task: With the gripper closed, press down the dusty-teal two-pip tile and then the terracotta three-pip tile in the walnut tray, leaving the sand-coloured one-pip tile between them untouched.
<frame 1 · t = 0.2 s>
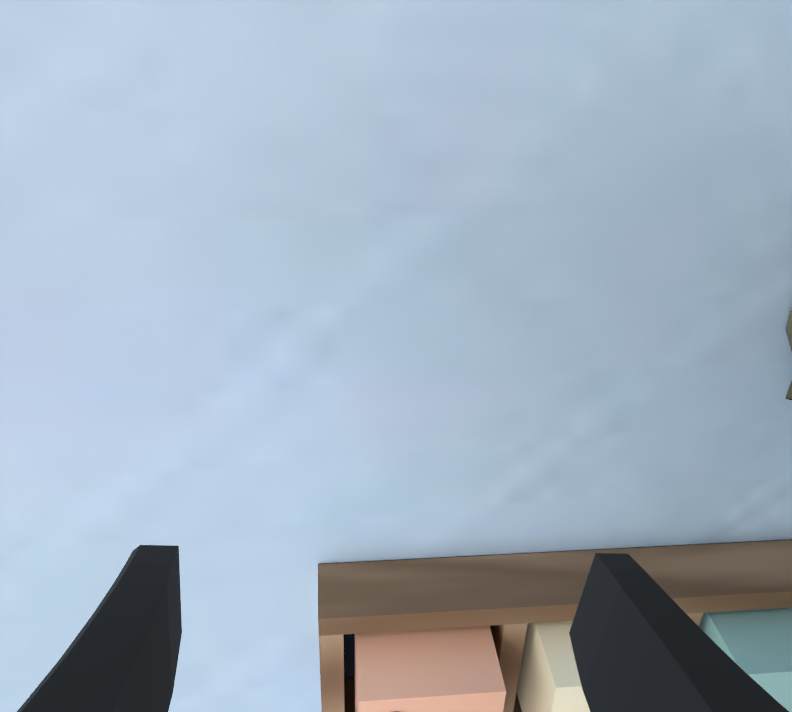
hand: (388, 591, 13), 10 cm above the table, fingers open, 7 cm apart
tile three: (423, 699, 25), point 3 cm above the table, slide at 0.0 cm
tile tray: (572, 617, 28), on the table
tile two: (766, 675, 26), point 3 cm above the table, slide at 0.0 cm
tile one: (598, 687, 26), point 3 cm above the table, slide at 0.0 cm
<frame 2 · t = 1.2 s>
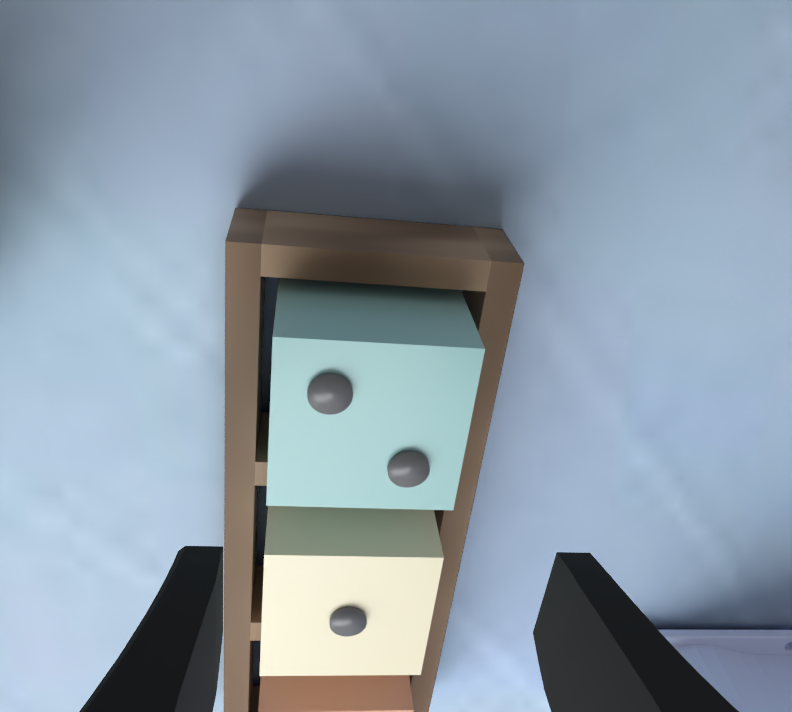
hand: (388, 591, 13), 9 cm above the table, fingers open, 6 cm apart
tile tray: (342, 505, 24), on the table
tile two: (366, 395, 18), point 3 cm above the table, slide at 0.0 cm
tile one: (345, 576, 21), point 3 cm above the table, slide at 0.0 cm
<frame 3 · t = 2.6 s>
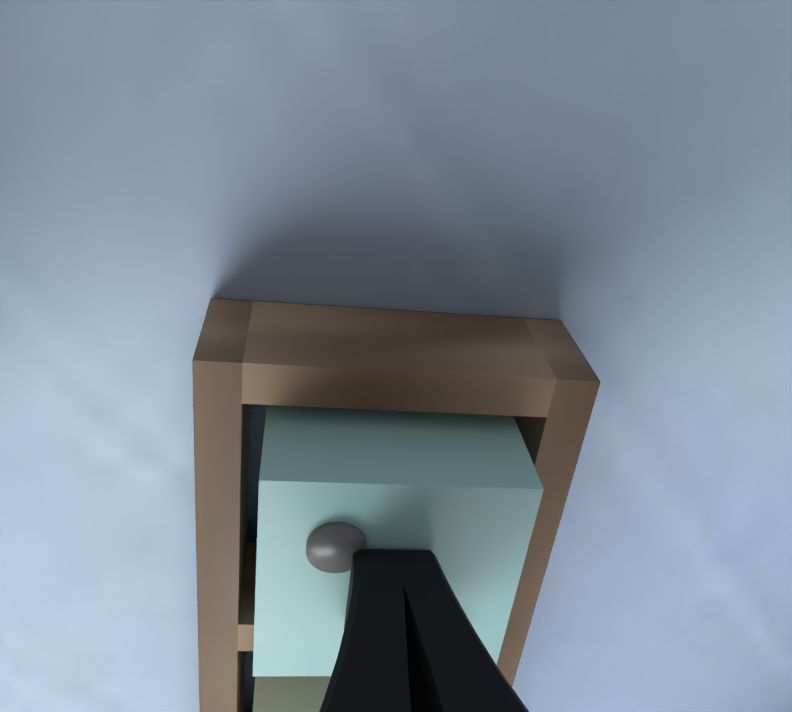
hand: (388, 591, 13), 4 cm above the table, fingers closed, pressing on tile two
tile tray: (350, 644, 19), on the table
tile two: (382, 528, 14), point 2 cm above the table, slide at -0.7 cm, touching gripper
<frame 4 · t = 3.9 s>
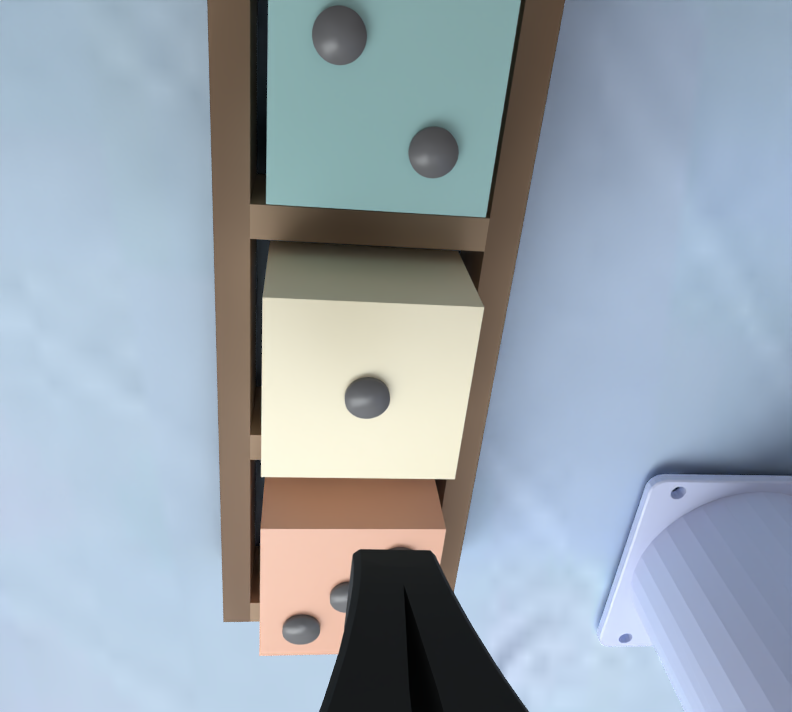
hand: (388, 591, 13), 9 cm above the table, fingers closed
tile three: (346, 553, 21), point 3 cm above the table, slide at 0.0 cm
tile tray: (355, 305, 20), on the table
tile two: (381, 82, 15), point 2 cm above the table, slide at -1.1 cm
tile one: (362, 361, 18), point 3 cm above the table, slide at 0.0 cm
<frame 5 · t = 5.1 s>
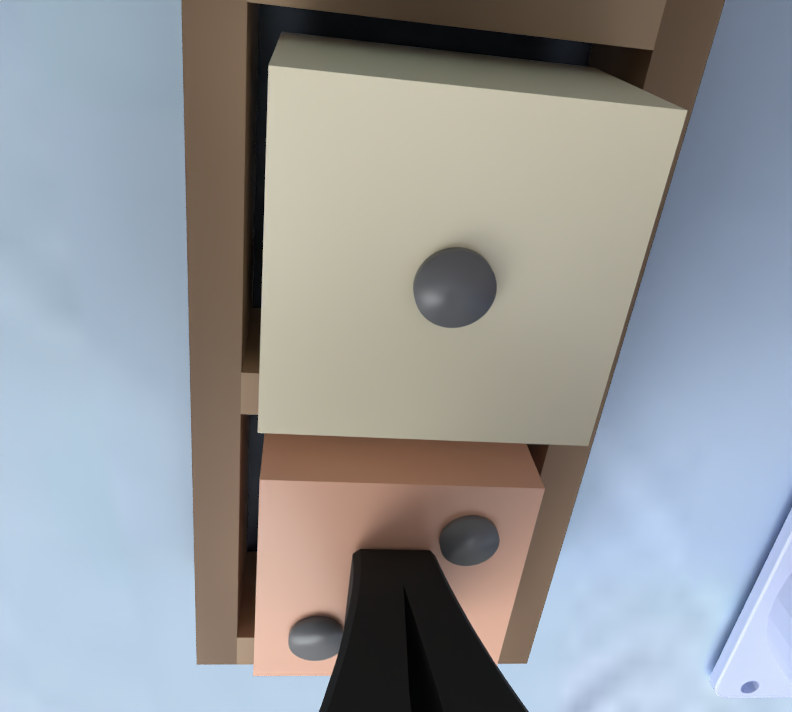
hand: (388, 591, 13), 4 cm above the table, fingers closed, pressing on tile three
tile three: (383, 527, 14), point 2 cm above the table, slide at -1.0 cm, touching gripper
tile tray: (411, 179, 13), on the table
tile one: (436, 241, 10), point 3 cm above the table, slide at 0.0 cm
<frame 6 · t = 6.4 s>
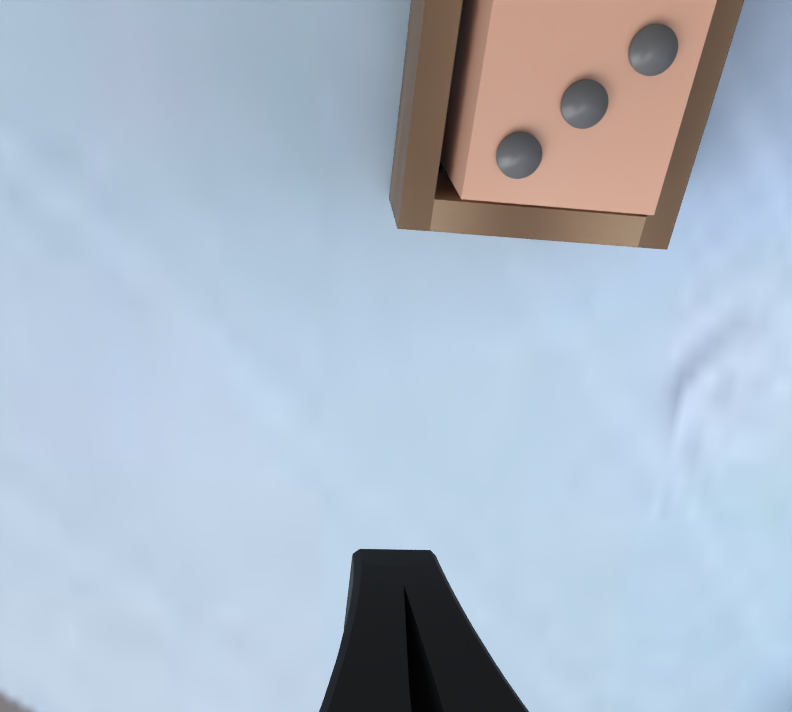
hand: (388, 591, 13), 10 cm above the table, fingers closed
tile three: (562, 90, 17), point 2 cm above the table, slide at -1.1 cm
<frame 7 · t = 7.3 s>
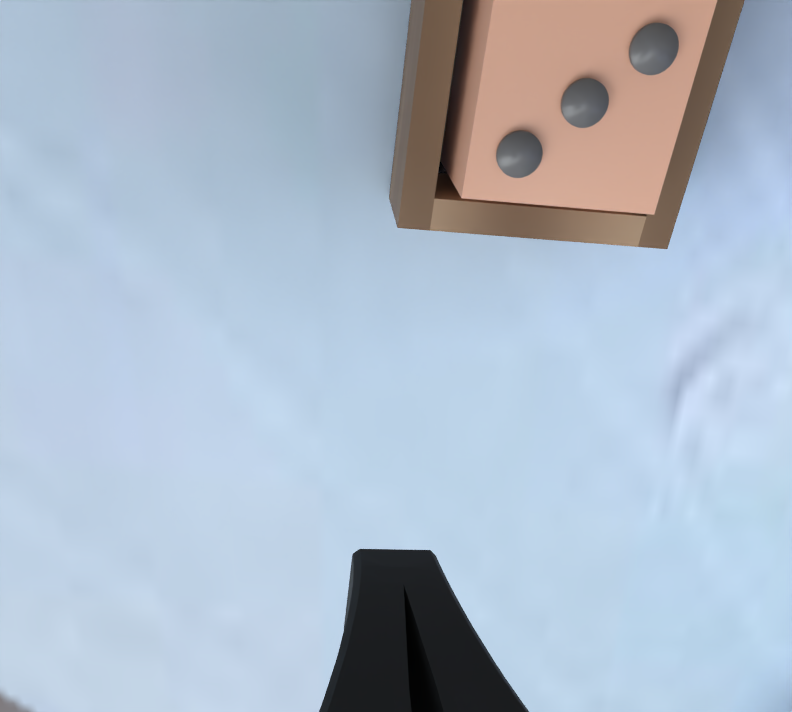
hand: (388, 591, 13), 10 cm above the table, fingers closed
tile three: (562, 89, 17), point 2 cm above the table, slide at -1.1 cm
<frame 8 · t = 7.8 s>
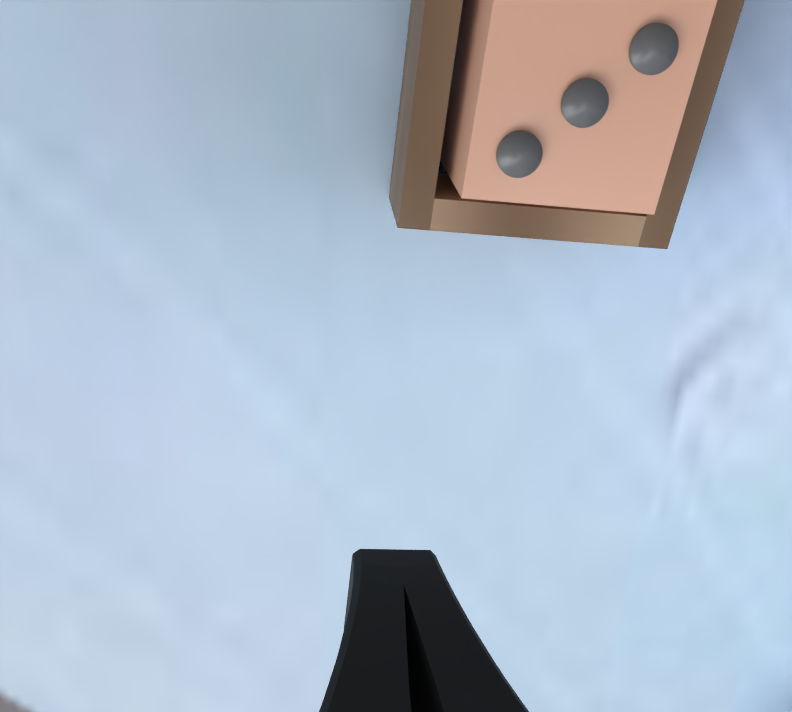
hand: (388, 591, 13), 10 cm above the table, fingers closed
tile three: (562, 89, 17), point 2 cm above the table, slide at -1.1 cm
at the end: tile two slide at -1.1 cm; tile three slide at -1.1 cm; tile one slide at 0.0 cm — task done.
